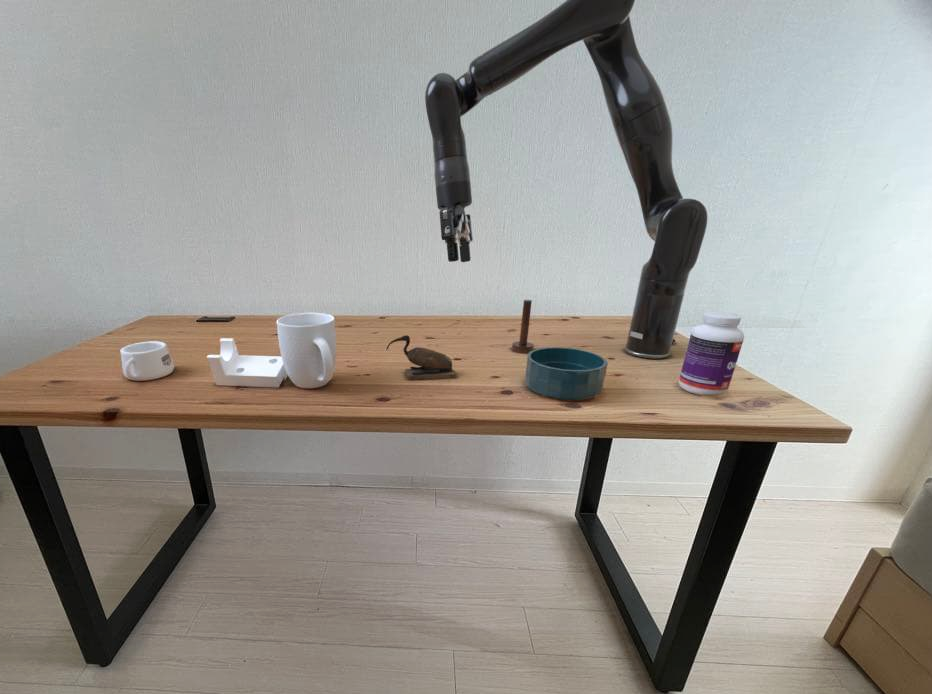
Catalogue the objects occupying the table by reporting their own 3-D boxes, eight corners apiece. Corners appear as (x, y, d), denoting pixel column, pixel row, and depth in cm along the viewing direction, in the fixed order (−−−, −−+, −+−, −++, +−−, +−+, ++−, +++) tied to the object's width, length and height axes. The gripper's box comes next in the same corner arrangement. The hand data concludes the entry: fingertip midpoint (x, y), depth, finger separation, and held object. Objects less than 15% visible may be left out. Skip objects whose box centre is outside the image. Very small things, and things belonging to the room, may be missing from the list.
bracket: (217, 388, 92) (206, 357, 87) (231, 368, 97) (221, 338, 92) (279, 391, 90) (271, 359, 86) (290, 370, 96) (283, 339, 91)
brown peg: (515, 346, 114) (520, 297, 109) (535, 348, 111) (541, 299, 106) (508, 351, 110) (513, 301, 105) (529, 354, 107) (535, 303, 102)
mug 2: (358, 391, 87) (355, 324, 82) (304, 404, 82) (297, 334, 76) (324, 369, 99) (320, 309, 93) (275, 380, 93) (267, 317, 88)
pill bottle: (727, 401, 81) (752, 322, 75) (675, 392, 85) (696, 316, 79) (725, 387, 88) (749, 312, 82) (678, 379, 92) (696, 308, 86)
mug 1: (141, 366, 102) (134, 340, 100) (183, 366, 102) (177, 340, 99) (107, 386, 91) (98, 357, 89) (153, 386, 91) (146, 358, 88)
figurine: (387, 381, 92) (387, 339, 89) (385, 373, 96) (385, 333, 93) (455, 377, 94) (457, 336, 90) (450, 370, 98) (452, 330, 94)
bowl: (535, 370, 97) (539, 343, 95) (607, 382, 90) (612, 353, 88) (514, 392, 86) (517, 362, 84) (594, 408, 79) (600, 376, 77)
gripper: (458, 174, 91) (466, 258, 94) (478, 184, 103) (484, 259, 107) (424, 182, 94) (432, 264, 98) (447, 192, 106) (454, 264, 110)
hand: (460, 261), depth 102 cm, fingers open, 8 cm apart
